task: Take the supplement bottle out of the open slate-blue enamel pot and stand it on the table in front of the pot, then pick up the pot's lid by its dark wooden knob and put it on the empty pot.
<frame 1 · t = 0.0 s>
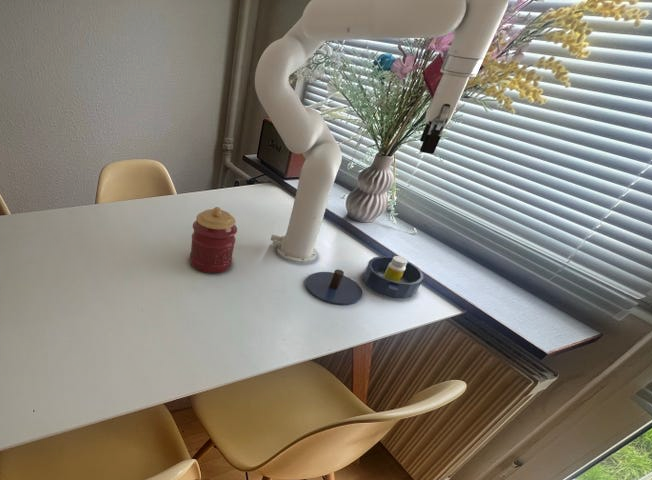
hand: (426, 147, 108), 37 cm above the table, tool pointing down, fingers open, 9 cm apart
kitchen canister: (210, 263, 132), on the table
supplement bottle: (388, 284, 128), resting on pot
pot: (388, 285, 129), on the table
pot lid: (333, 288, 124), point 1 cm above the table
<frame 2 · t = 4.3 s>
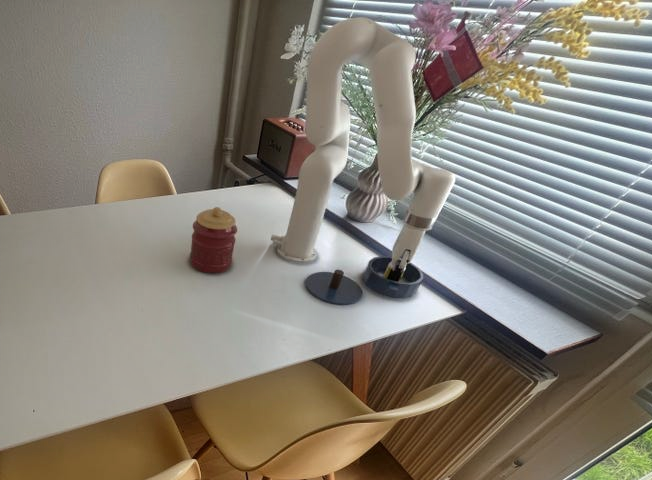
hand: (392, 276, 127), 3 cm above the table, tool pointing down, fingers closed on supplement bottle, 4 cm apart
supplement bottle: (388, 284, 128), resting on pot, touching gripper
everything else where it was.
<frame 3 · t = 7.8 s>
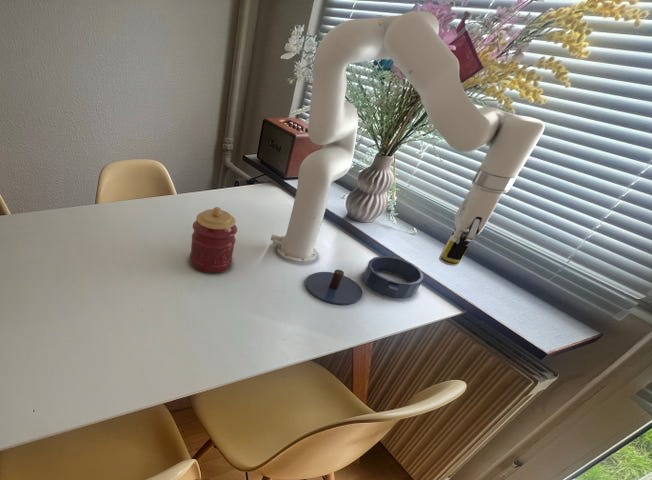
hand: (453, 252, 108), 18 cm above the table, tool pointing down, fingers closed on supplement bottle, 4 cm apart
supplement bottle: (447, 262, 109), point 15 cm above the table, touching gripper
everything else where it was.
when the fingers open (2 cm above the table, at t = 11.5 s): supplement bottle stays where it is, on the table.
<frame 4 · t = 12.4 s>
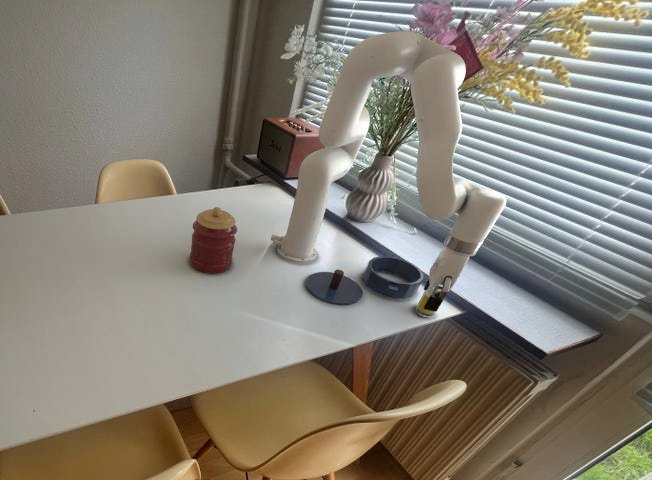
hand: (429, 300, 117), 4 cm above the table, tool pointing down, fingers open, 9 cm apart
supplement bottle: (423, 313, 119), on the table
everything else where it was.
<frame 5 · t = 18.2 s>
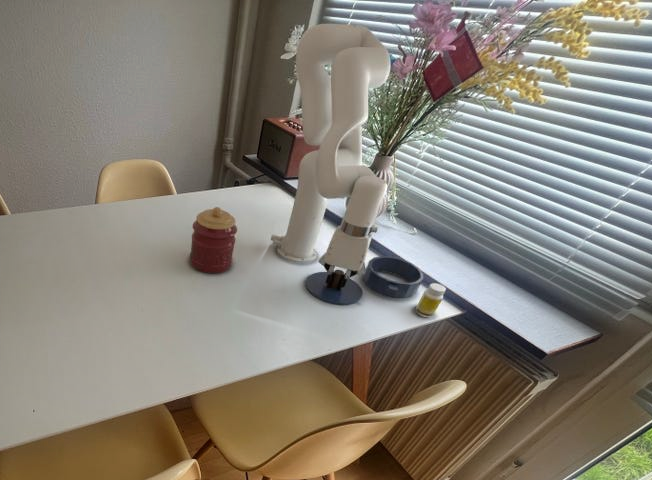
hand: (334, 286, 124), 1 cm above the table, tool pointing down, fingers closed on pot lid, 2 cm apart
pot lid: (333, 288, 124), point 1 cm above the table, touching gripper
everything else where it was.
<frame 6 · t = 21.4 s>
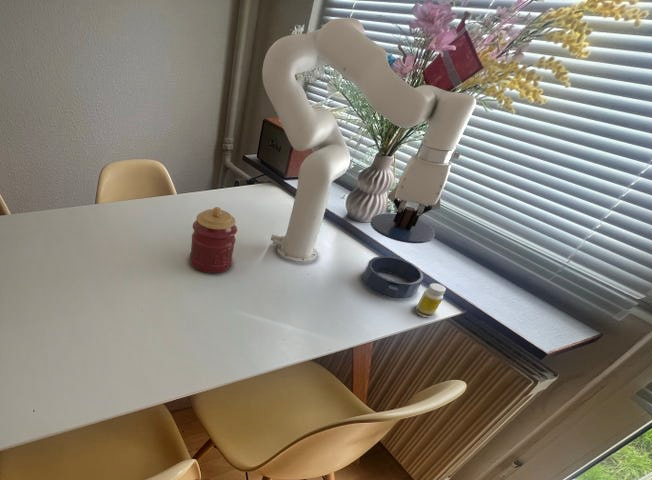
hand: (402, 225, 114), 19 cm above the table, tool pointing down, fingers closed on pot lid, 2 cm apart
pot lid: (401, 228, 115), point 18 cm above the table, touching gripper
everything else where it was.
when the fingers open (6 cm above the table, at t = 25.0 s): pot lid stays where it is, resting on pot.
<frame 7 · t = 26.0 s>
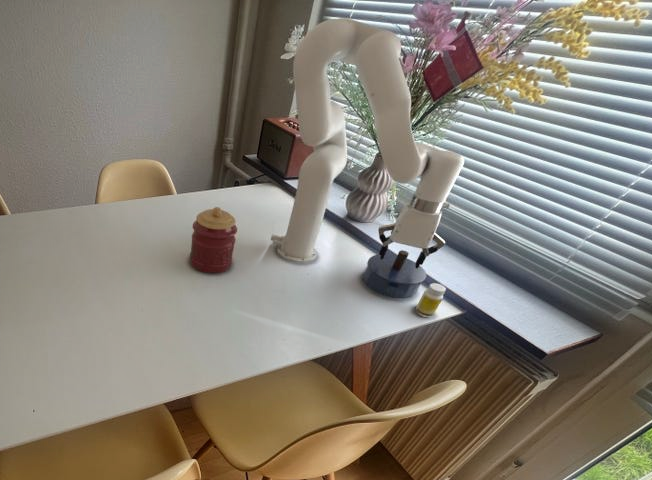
hand: (398, 261, 123), 8 cm above the table, tool pointing down, fingers open, 9 cm apart
pot lid: (395, 269, 125), point 5 cm above the table, touching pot
everything else where it was.
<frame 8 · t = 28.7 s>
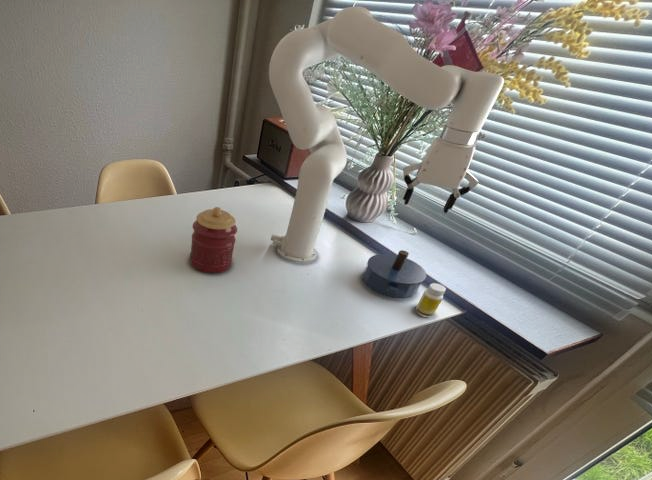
hand: (425, 206, 112), 24 cm above the table, tool pointing down, fingers open, 9 cm apart
nothing on the table moved.
at the end: supplement bottle inside the target area (0.0 cm from its centre), on the table; supplement bottle tilted 0°; pot lid 0.1 cm off-centre on the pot, point 5.4 cm above the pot's base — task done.
